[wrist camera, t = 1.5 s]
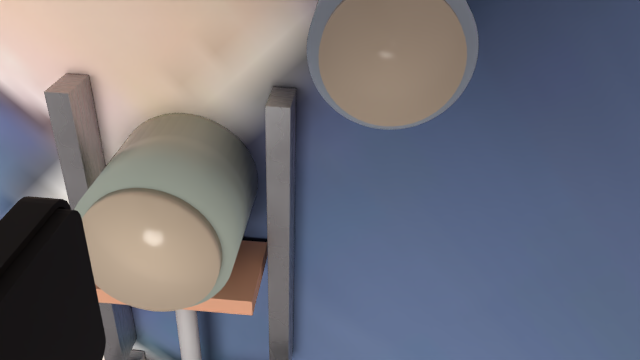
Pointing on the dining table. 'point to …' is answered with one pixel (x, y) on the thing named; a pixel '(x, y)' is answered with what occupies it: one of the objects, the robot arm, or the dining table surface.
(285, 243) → the lane
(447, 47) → the jar
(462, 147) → the dining table surface
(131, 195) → the jar resting
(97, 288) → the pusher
